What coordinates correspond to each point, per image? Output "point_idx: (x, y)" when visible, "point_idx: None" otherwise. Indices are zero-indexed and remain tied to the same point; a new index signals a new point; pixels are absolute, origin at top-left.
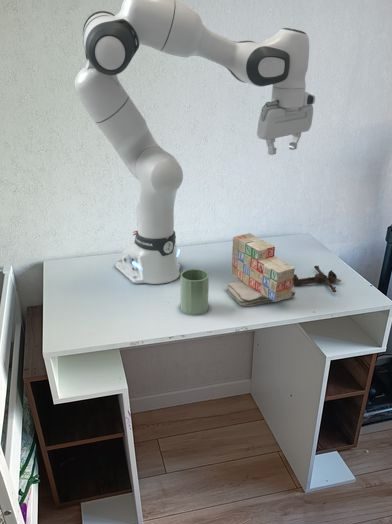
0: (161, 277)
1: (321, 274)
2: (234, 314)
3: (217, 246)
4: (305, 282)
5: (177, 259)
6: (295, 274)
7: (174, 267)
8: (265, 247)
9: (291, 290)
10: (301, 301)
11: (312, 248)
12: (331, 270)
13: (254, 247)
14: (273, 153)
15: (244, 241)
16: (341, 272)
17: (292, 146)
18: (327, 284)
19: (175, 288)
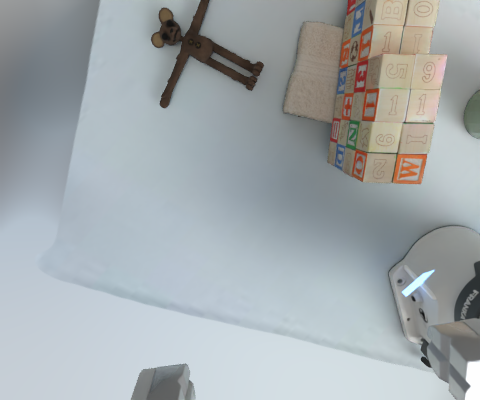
0: (474, 235)
1: (196, 45)
2: (451, 43)
3: (266, 310)
4: (239, 57)
5: (422, 269)
6: (247, 85)
7: (447, 245)
8: (412, 63)
9: None
10: (299, 3)
11: (87, 202)
12: (172, 30)
13: (436, 83)
14: (473, 323)
15: (426, 136)
16: (113, 63)
17: (181, 396)
18: (204, 13)
19: (458, 200)
